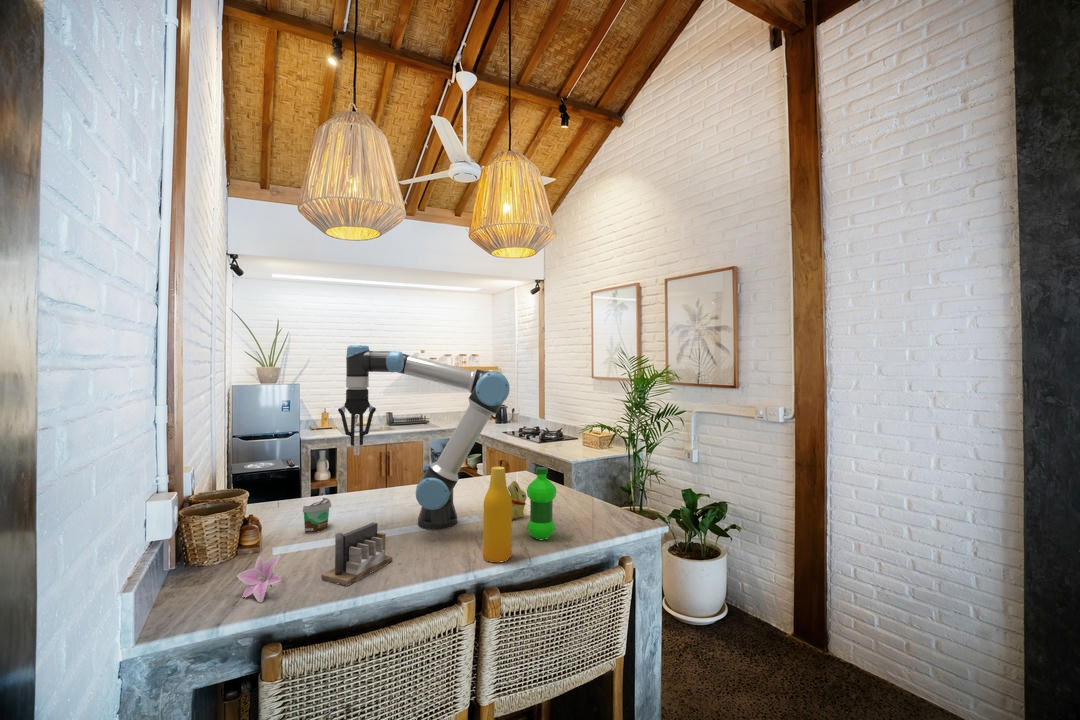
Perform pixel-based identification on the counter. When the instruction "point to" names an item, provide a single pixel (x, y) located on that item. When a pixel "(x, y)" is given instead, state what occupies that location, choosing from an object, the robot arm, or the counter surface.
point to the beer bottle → (497, 518)
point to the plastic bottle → (541, 505)
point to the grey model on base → (357, 559)
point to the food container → (316, 516)
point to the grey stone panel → (357, 539)
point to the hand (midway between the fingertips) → (356, 454)
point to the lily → (259, 577)
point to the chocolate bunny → (517, 500)
